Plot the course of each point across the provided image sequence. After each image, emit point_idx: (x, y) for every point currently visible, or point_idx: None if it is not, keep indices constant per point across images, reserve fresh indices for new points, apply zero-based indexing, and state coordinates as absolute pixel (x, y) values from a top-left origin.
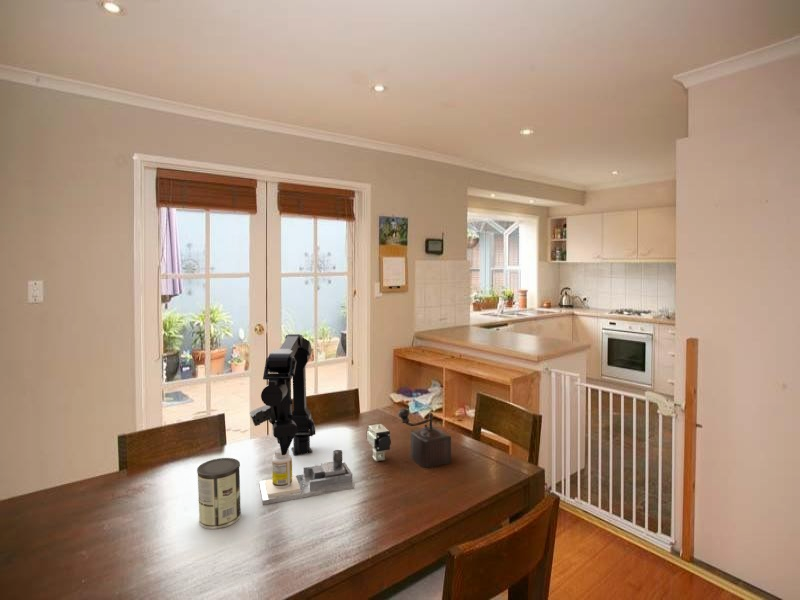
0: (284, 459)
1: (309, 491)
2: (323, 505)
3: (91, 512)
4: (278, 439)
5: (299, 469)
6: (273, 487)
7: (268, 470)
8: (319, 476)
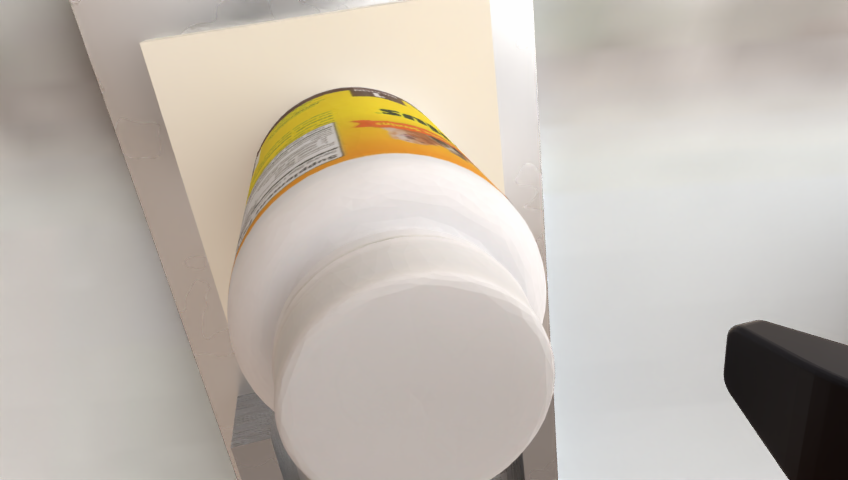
0: (270, 382)
1: (224, 396)
2: (56, 475)
3: None
4: (797, 386)
5: (698, 270)
6: (294, 94)
7: (793, 3)
8: None
